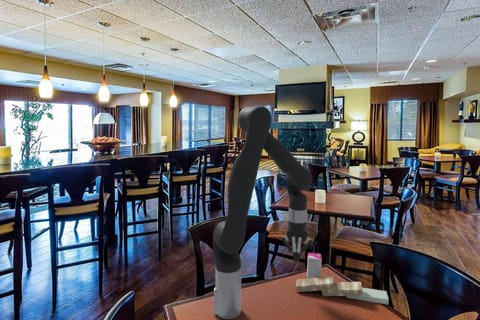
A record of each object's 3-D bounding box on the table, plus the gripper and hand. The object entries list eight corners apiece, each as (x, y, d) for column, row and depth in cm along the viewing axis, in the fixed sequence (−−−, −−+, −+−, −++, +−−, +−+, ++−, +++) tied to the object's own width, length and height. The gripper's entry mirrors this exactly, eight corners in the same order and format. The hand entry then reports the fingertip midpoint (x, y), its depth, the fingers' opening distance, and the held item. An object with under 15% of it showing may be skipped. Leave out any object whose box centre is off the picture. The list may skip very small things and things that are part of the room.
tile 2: (321, 290, 121) (361, 289, 115) (322, 282, 126) (361, 281, 121) (322, 296, 121) (362, 295, 116) (323, 288, 127) (362, 287, 121)
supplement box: (320, 284, 129) (321, 259, 128) (306, 283, 130) (307, 258, 129) (320, 278, 135) (321, 253, 133) (306, 276, 136) (307, 252, 135)
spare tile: (346, 292, 120) (388, 299, 115) (346, 285, 125) (386, 291, 121) (346, 298, 120) (388, 305, 115) (346, 290, 126) (385, 297, 121)
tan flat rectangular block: (295, 286, 123) (333, 283, 120) (296, 279, 129) (332, 276, 125) (296, 292, 124) (334, 289, 120) (297, 284, 129) (333, 281, 125)
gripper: (279, 220, 120) (279, 262, 122) (314, 223, 117) (312, 266, 119) (281, 215, 127) (281, 254, 129) (314, 217, 124) (313, 258, 126)
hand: (296, 260), depth 124 cm, fingers closed
